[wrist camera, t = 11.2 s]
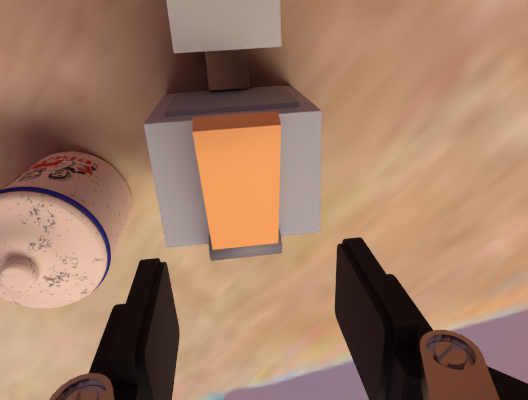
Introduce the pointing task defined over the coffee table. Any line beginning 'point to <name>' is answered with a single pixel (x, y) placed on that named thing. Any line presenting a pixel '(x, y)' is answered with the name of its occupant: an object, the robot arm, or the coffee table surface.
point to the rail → (228, 69)
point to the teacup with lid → (60, 229)
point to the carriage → (224, 24)
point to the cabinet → (186, 165)
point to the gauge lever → (240, 182)
